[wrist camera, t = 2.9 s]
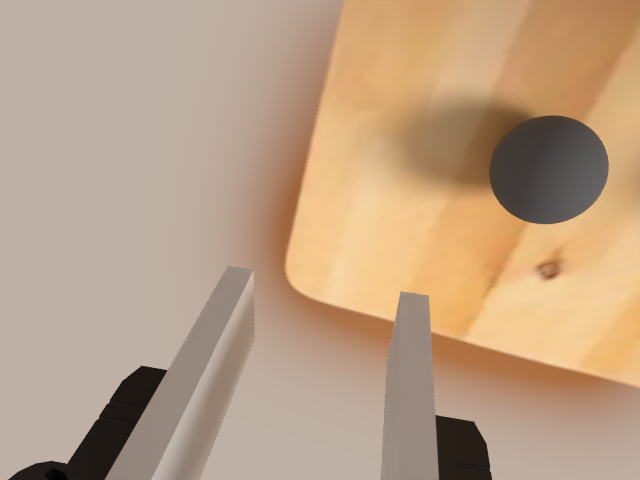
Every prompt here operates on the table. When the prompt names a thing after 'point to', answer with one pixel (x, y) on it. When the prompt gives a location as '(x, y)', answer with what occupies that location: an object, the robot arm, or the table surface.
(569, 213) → the dark gray ball
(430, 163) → the table surface
